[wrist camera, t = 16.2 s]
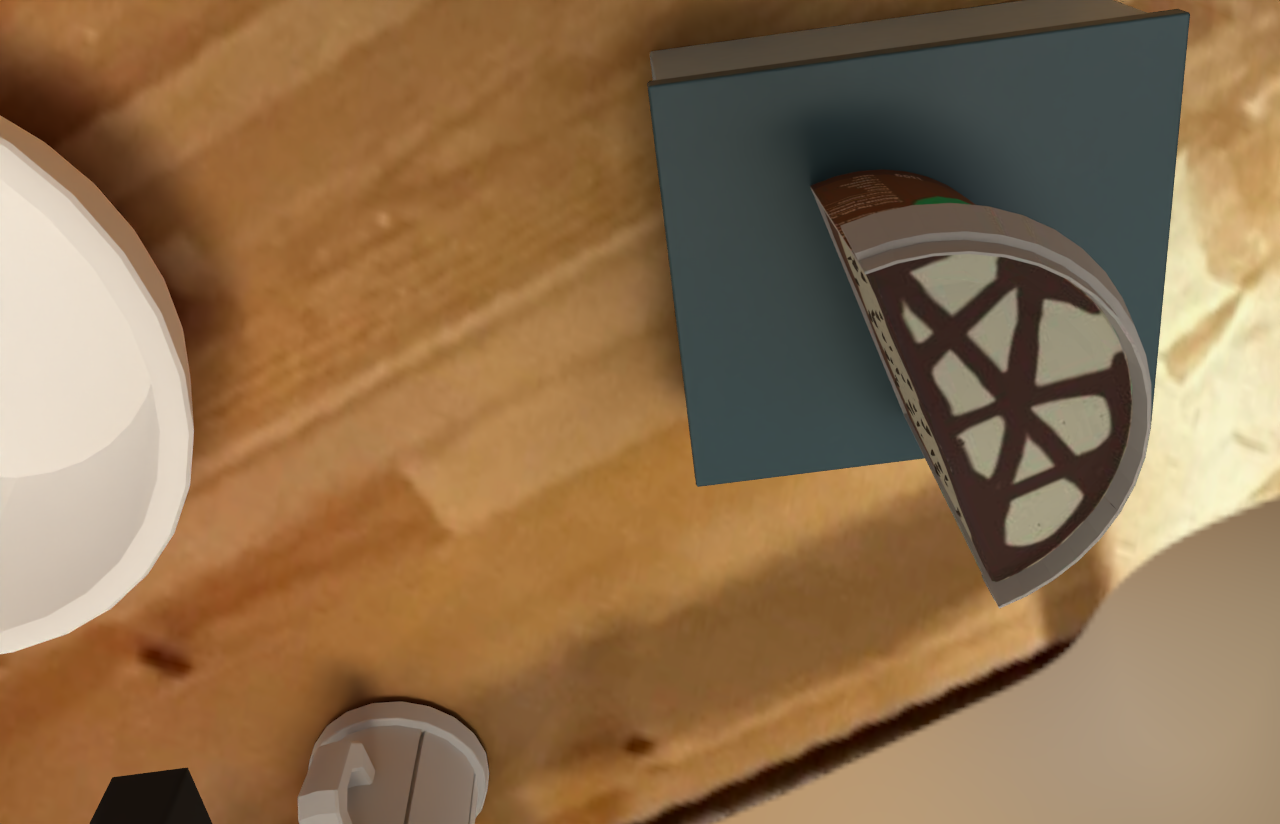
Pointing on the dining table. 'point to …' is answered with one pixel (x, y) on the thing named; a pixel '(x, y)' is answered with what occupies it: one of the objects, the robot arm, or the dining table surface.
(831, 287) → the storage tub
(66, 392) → the bowl
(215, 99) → the dining table surface
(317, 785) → the cup
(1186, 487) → the dining table surface
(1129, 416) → the food container
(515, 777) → the dining table surface
